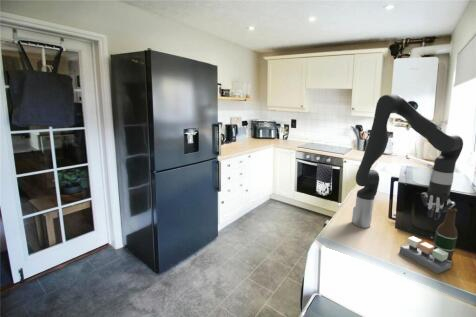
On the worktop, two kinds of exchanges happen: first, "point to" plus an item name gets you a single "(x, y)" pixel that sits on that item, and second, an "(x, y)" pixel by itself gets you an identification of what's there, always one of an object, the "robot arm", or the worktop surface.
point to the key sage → (439, 254)
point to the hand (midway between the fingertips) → (433, 217)
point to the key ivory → (414, 241)
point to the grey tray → (425, 259)
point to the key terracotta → (426, 247)
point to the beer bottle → (447, 234)
